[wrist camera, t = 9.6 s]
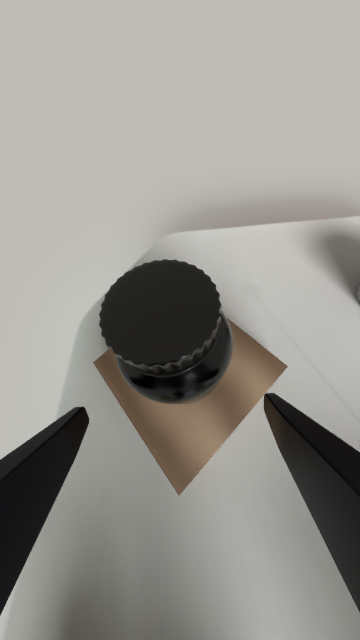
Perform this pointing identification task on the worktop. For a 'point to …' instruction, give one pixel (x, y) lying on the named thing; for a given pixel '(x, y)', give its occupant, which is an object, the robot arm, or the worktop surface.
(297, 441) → the robot arm
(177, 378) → the supplement bottle
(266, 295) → the worktop surface
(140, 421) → the walnut block
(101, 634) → the worktop surface
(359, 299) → the cup
